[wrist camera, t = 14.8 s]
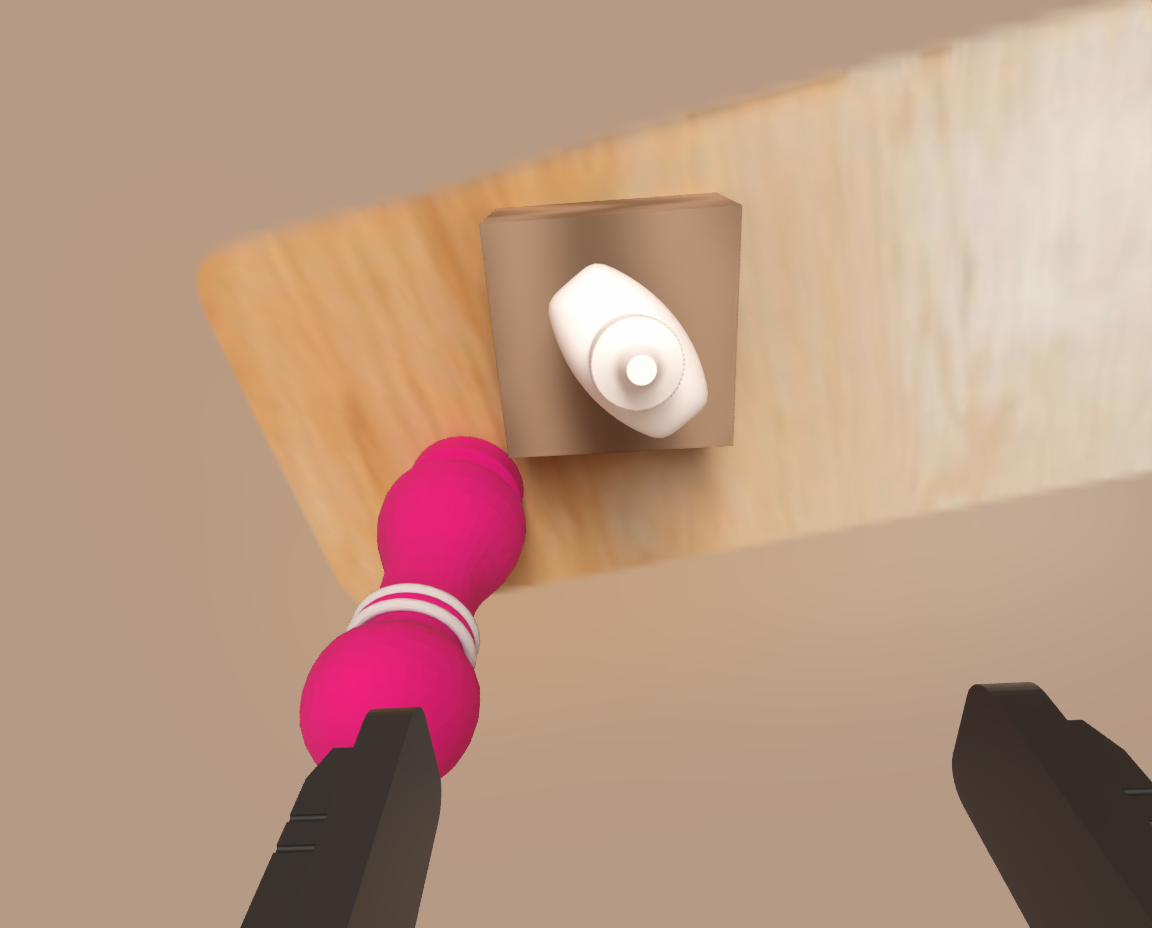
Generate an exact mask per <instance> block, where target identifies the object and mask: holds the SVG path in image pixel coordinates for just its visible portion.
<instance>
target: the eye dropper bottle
mask: <svg viewBox="0 0 1152 928" xmlns="http://www.w3.org/2000/svg"><path fill="white" fill-rule="evenodd" d="M548 313H549V318H550V322H551V326H552V329H553V332H554V335H555V338H556V340H557V343H558V346H559V348H560V350H561V352H562V355H563V357H564V358H565V360H566V362H567V364H568V366H569V368H570V369H571V371H572V373H573V374H574V376H575V377H576V378H577V380H578V381H579V383H580V384H581V385H582V386H583V388H584V389H585V390H586V391H587V392H588V394H589V395H590V396H591V397H592V398H593V399H594V400H595V401H596V402H597V403H598V404H599V405H600V406H601V407H602V408H604V409H605V410H606V411H607V412H608V413H610V414H611V415H612V416H614V417H615V418H616V419H618V420H619V421H621V422H622V423H624V424H625V425H627V426H629V427H631V428H633V429H634V430H636V431H639V432H641V433H643V434H645V435H648V436H651V437H653V438H664V437H667V436H669V435H671V434H673V433H674V432H676V431H677V430H678V429H680V428H681V427H682V426H683V425H685V424H686V423H687V422H688V421H690V420H691V419H692V418H693V417H695V416H696V415H697V414H698V413H699V412H700V411H701V410H702V409H703V407H704V406H705V404H706V403H707V396H708V390H707V384H706V379H705V375H704V372H703V369H702V366H701V363H700V360H699V358H698V355H697V353H696V350H695V348H694V346H693V344H692V342H691V340H690V339H689V337H688V335H687V333H686V332H685V330H684V329H683V327H682V326H681V324H680V323H679V322H678V320H677V319H676V318H675V316H674V315H673V314H672V313H671V311H670V310H669V309H668V308H667V307H666V306H665V305H664V304H663V303H662V302H661V301H660V300H659V299H658V298H657V297H656V296H655V295H654V294H653V293H651V292H650V291H649V290H648V289H646V288H645V287H644V286H643V285H641V284H640V283H638V282H637V281H635V280H634V279H632V278H631V277H629V276H627V275H626V274H624V273H622V272H620V271H618V270H616V269H614V268H612V267H610V266H607V265H605V264H597V263H594V264H592V265H589V266H587V267H585V268H584V269H583V270H581V271H580V272H579V273H578V274H577V275H575V276H574V277H573V278H572V279H571V280H570V281H569V282H567V283H566V284H565V285H564V286H563V287H562V288H561V289H560V290H559V291H558V292H557V293H556V294H555V295H554V296H553V298H552V299H551V301H550V303H549V312H548Z"/></svg>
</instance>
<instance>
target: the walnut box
mask: <svg viewBox="0 0 1152 928" xmlns="http://www.w3.org/2000/svg"><path fill="white" fill-rule="evenodd" d="M741 220H742V205H740V204H738V203H736V202H734V201H732V200H730V199H728V198H726V197H724V196H722V195H720V194H718V193H705V194H691V195H677V196H663V197H650V198H636V199H622V200H608V201H594V202H580V203H567V204H553V205H539V206H525V207H511V208H497V209H496V210H495V211H494V212H493V213H491V214H490V215H489V216H488V217H487V218H486V219H485V220H483V221H482V222H481V223H480V224H479V227H480V235H481V243H482V251H483V259H484V267H485V275H486V283H487V290H488V298H489V306H490V314H491V322H492V330H493V338H494V346H495V354H496V362H497V370H498V377H499V385H500V393H501V401H502V409H503V417H504V425H505V433H506V441H507V449H508V457H509V458H521V457H539V456H557V455H575V454H593V453H611V452H629V451H647V450H665V449H683V448H701V447H719V446H733V432H734V406H735V379H736V353H737V326H738V300H739V273H740V247H741ZM594 263H597V264H605V265H607V266H610V267H612V268H614V269H616V270H618V271H620V272H622V273H624V274H626V275H627V276H629V277H631V278H632V279H634V280H635V281H637V282H638V283H640V284H641V285H643V286H644V287H645V288H646V289H648V290H649V291H650V292H651V293H653V294H654V295H655V296H656V297H657V298H658V299H659V300H660V301H661V302H662V303H663V304H664V305H665V306H666V307H667V308H668V309H669V310H670V311H671V313H672V314H673V315H674V316H675V318H676V319H677V320H678V322H679V323H680V324H681V326H682V327H683V329H684V330H685V332H686V333H687V335H688V337H689V339H690V340H691V342H692V344H693V346H694V348H695V350H696V353H697V355H698V358H699V360H700V363H701V366H702V369H703V372H704V375H705V379H706V384H707V390H708V396H707V403H706V404H705V406H704V407H703V409H702V410H701V411H700V412H699V413H698V414H697V415H696V416H695V417H693V418H692V419H691V420H690V421H688V422H687V423H686V424H685V425H683V426H682V427H681V428H680V429H678V430H677V431H676V432H674V433H673V434H671V435H669V436H667V437H664V438H653V437H651V436H648V435H645V434H643V433H641V432H639V431H636V430H634V429H633V428H631V427H629V426H627V425H625V424H624V423H622V422H621V421H619V420H618V419H616V418H615V417H614V416H612V415H611V414H610V413H608V412H607V411H606V410H605V409H604V408H602V407H601V406H600V405H599V404H598V403H597V402H596V401H595V400H594V399H593V398H592V397H591V396H590V395H589V394H588V392H587V391H586V390H585V389H584V388H583V386H582V385H581V384H580V383H579V381H578V380H577V378H576V377H575V376H574V374H573V373H572V371H571V369H570V368H569V366H568V364H567V362H566V360H565V358H564V357H563V355H562V352H561V350H560V348H559V346H558V343H557V340H556V338H555V335H554V332H553V329H552V326H551V322H550V318H549V313H548V312H549V303H550V301H551V299H552V298H553V296H554V295H555V294H556V293H557V292H558V291H559V290H560V289H561V288H562V287H563V286H564V285H565V284H566V283H567V282H569V281H570V280H571V279H572V278H573V277H574V276H575V275H577V274H578V273H579V272H580V271H581V270H583V269H584V268H585V267H587V266H589V265H592V264H594Z"/></svg>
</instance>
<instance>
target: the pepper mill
mask: <svg viewBox="0 0 1152 928" xmlns="http://www.w3.org/2000/svg"><path fill="white" fill-rule="evenodd" d="M522 497H523V483H522V478H521V475H520V473H519V470H518V468H517V466H516V465H515V463H514V462H513V460H512V459H511V458H509V457H508V455H507V454H506V453H505V452H504V451H503V450H501V449H500V448H499V447H497V446H495V445H494V444H492V443H490V442H488V441H485V440H482V439H478V438H474V437H463V436H459V437H450V438H447V439H443V440H440V441H438V442H436V443H434V444H432V445H431V446H429V447H428V448H427V449H426V450H425V451H423V452H422V453H421V455H420V456H419V457H418V458H417V460H416V462H415V463H414V465H413V467H412V468H411V469H410V470H409V471H407V472H406V473H404V474H403V475H402V476H401V477H400V478H399V479H398V480H397V481H396V482H395V483H394V484H393V485H392V487H391V489H390V490H389V492H388V493H387V495H386V497H385V500H384V502H383V505H382V508H381V511H380V514H379V517H378V525H377V543H378V550H379V554H380V558H381V561H382V565H383V569H384V577H383V580H382V583H381V586H380V589H379V590H377V591H375V592H373V593H372V594H370V595H369V596H368V597H367V598H365V599H364V600H363V601H362V602H361V604H360V605H359V606H358V608H357V610H356V611H355V614H354V616H353V619H352V621H351V622H350V624H349V626H348V628H347V630H346V632H345V633H343V634H342V635H340V636H338V637H337V638H336V639H335V640H333V641H332V642H331V643H330V644H329V645H328V646H327V647H326V648H325V649H324V651H323V652H322V653H321V654H320V656H319V657H318V659H317V660H316V662H315V663H314V665H313V666H312V668H311V670H310V672H309V674H308V677H307V680H306V682H305V685H304V688H303V691H302V696H301V703H300V728H301V731H302V735H303V739H304V743H305V746H306V747H307V749H308V751H309V753H310V755H311V756H312V758H313V760H314V762H315V763H316V764H317V765H318V764H319V763H320V762H321V761H322V760H323V759H324V758H325V756H326V755H327V754H328V753H329V752H330V751H331V750H332V748H344V747H353V746H354V744H355V741H356V738H357V736H358V733H359V731H360V728H361V725H362V723H363V720H364V718H365V716H366V714H367V713H368V711H369V710H371V709H378V708H401V707H421V708H422V709H423V711H424V713H425V716H426V720H427V724H428V728H429V732H430V736H431V741H432V745H433V749H434V753H435V757H436V761H437V765H438V769H439V773H440V778H441V777H443V776H444V775H446V774H447V773H448V772H449V771H450V770H451V769H452V768H453V767H454V766H455V765H456V764H457V762H458V761H459V759H460V758H461V757H462V755H463V754H464V752H465V751H466V749H467V747H468V746H469V744H470V742H471V739H472V736H473V733H474V730H475V728H476V725H477V722H478V717H479V707H480V687H479V684H478V681H477V678H476V674H475V671H474V668H475V664H476V656H477V654H478V650H479V646H480V636H479V629H478V626H477V624H476V621H475V619H474V614H475V612H476V610H477V609H478V607H479V605H480V604H481V603H482V602H483V601H484V600H485V599H486V598H488V597H489V596H490V595H491V594H492V593H493V592H494V591H496V590H497V589H498V588H499V587H500V586H501V585H502V584H503V583H504V581H505V580H506V579H507V577H508V576H509V575H510V573H511V572H512V570H513V568H514V567H515V565H516V563H517V562H518V559H519V556H520V553H521V550H522V547H523V544H524V540H525V534H526V523H525V515H524V511H523V508H522V505H521V503H522Z"/></svg>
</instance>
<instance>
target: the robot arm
mask: <svg viewBox="0 0 1152 928" xmlns="http://www.w3.org/2000/svg"><path fill="white" fill-rule="evenodd" d="M952 771H953V778H954V782H955V786H956V789H957V792H958V795H959V797H960V800H961V802H962V804H963V806H964V808H965V810H966V811H967V813H968V815H969V817H970V819H971V821H972V822H973V824H974V826H975V828H976V830H977V832H978V834H979V835H980V837H981V839H982V841H983V843H984V845H985V846H986V848H987V850H988V852H989V854H990V855H991V857H992V859H993V861H994V863H995V865H996V866H997V868H998V870H999V872H1000V873H1001V875H1002V877H1003V879H1004V881H1005V883H1006V885H1007V886H1008V888H1009V890H1010V892H1011V894H1012V896H1013V897H1014V899H1015V901H1016V903H1017V905H1018V907H1019V908H1020V910H1021V912H1022V914H1023V916H1024V917H1025V919H1026V921H1027V923H1028V925H1029V926H1030V928H1152V782H1151V781H1150V779H1149V778H1148V777H1147V776H1146V775H1145V774H1144V772H1143V771H1142V770H1141V769H1140V768H1139V767H1138V765H1137V764H1136V763H1135V762H1134V761H1133V760H1132V758H1131V757H1130V756H1129V755H1128V754H1127V753H1126V751H1125V750H1123V749H1122V748H1121V747H1119V746H1118V745H1116V744H1115V743H1114V742H1112V741H1111V740H1110V739H1108V738H1107V737H1105V736H1104V735H1103V734H1101V733H1100V732H1098V731H1097V730H1096V729H1094V728H1093V727H1092V726H1090V725H1089V724H1087V723H1086V722H1085V721H1083V720H1067V719H1066V718H1065V717H1064V716H1063V714H1062V713H1061V712H1060V711H1059V709H1058V708H1057V707H1056V706H1055V704H1054V703H1053V702H1052V701H1051V700H1050V698H1049V697H1048V696H1047V695H1046V693H1045V692H1044V691H1043V690H1042V689H1041V688H1040V687H1039V686H1037V685H1035V684H1034V683H1031V682H1021V683H999V684H975V685H973V686H972V687H971V688H970V689H969V691H968V694H967V698H966V703H965V706H964V711H963V715H962V719H961V723H960V728H959V732H958V735H957V740H956V744H955V749H954V752H953V758H952ZM440 806H441V780H440V773H439V769H438V765H437V761H436V757H435V753H434V749H433V745H432V741H431V736H430V732H429V728H428V724H427V720H426V716H425V713H424V711H423V709H422V708H421V707H401V708H378V709H371V710H369V711H368V713H367V714H366V716H365V718H364V720H363V723H362V725H361V728H360V731H359V733H358V736H357V738H356V741H355V744H354V746H353V747H344V748H332V750H331V751H330V752H329V753H328V754H327V755H326V756H325V758H324V759H323V760H322V761H321V762H320V763H319V764H318V766H317V767H316V768H315V769H314V770H313V771H312V772H311V774H310V775H309V776H308V777H307V778H306V780H305V782H304V784H303V786H302V789H301V791H300V793H299V795H298V798H297V800H296V802H295V805H294V807H293V809H292V811H291V814H290V821H289V822H287V823H286V825H285V828H284V830H283V832H282V834H281V836H280V839H279V841H278V843H277V850H276V853H273V855H272V857H271V859H270V861H269V864H268V866H267V868H266V871H265V873H264V875H263V878H262V880H261V882H260V884H259V887H258V889H257V891H256V894H255V896H254V898H253V900H252V902H251V905H250V907H249V909H248V912H247V914H246V916H245V918H244V921H243V923H242V925H241V928H415V925H416V920H417V916H418V910H419V907H420V902H421V897H422V893H423V888H424V883H425V879H426V874H427V870H428V866H429V861H430V857H431V852H432V848H433V842H434V838H435V834H436V830H437V825H438V820H439V815H440Z"/></svg>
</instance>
